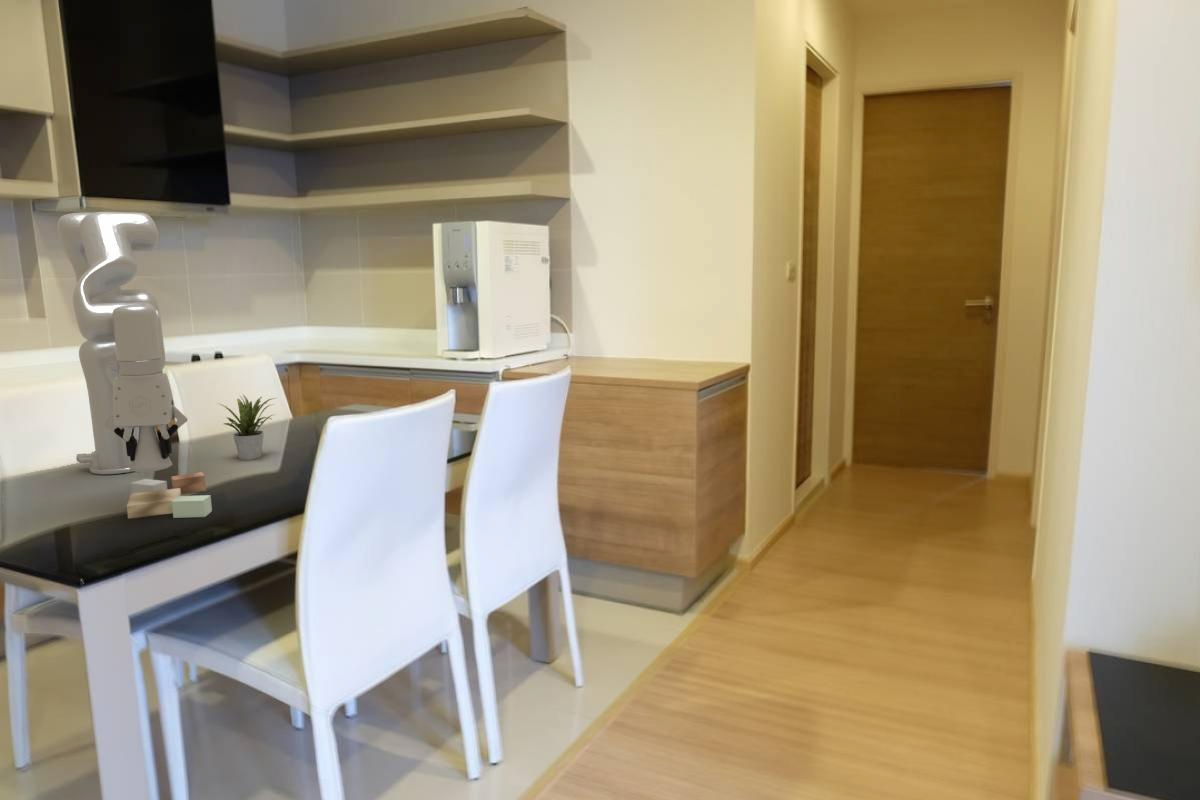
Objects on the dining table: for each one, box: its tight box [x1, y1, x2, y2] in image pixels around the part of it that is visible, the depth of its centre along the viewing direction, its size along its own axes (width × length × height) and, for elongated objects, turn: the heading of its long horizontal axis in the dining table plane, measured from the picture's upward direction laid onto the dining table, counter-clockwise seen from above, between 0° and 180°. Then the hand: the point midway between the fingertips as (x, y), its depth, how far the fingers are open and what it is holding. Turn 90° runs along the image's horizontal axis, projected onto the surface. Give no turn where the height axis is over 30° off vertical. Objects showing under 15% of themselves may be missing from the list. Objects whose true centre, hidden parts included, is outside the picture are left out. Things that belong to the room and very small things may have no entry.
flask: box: [129, 426, 173, 473], centre depth 160 cm, size 7×7×10 cm
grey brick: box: [130, 478, 168, 494], centre depth 170 cm, size 6×4×4 cm, turn 71°
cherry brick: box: [170, 471, 207, 495], centre depth 175 cm, size 6×4×4 cm, turn 126°
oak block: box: [126, 488, 182, 519], centre depth 162 cm, size 9×9×3 cm
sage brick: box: [172, 494, 213, 519], centre depth 159 cm, size 6×4×4 cm, turn 96°
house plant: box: [216, 394, 278, 461], centre depth 202 cm, size 14×14×16 cm
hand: (150, 457), depth 161 cm, fingers closed on flask, 5 cm apart
